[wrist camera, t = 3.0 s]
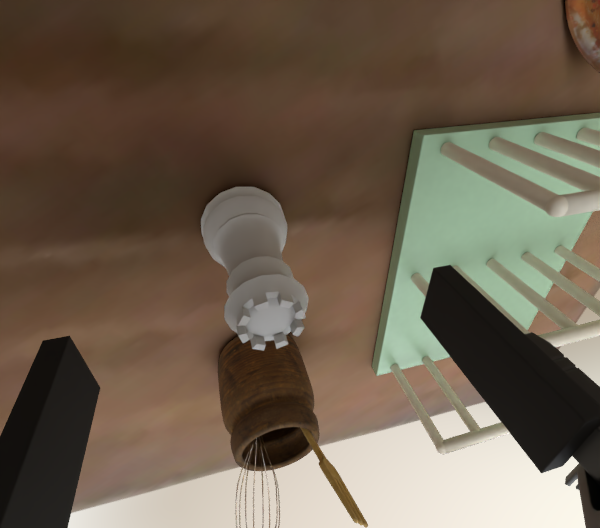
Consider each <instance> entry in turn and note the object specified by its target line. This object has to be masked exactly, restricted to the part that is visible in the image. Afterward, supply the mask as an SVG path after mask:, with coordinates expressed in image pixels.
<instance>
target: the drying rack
mask: <svg viewBox="0 0 600 528" xmlns="http://www.w3.org/2000/svg"><path fill="white" fill-rule="evenodd" d="M598 210H600V113H590V114H579V115H569V116H559V117H548V118H538V119H527V120H517V121H506V122H496V123H485V124H475V125H464V126H454V127H444V128H433V129H423V130H414V133H413V139H412V144H411V150H410V155H409V161H408V167H407V172H406V178H405V183H404V189H403V195H402V200H401V206H400V211H399V217H398V223H397V228H396V234H395V239H394V245H393V251H392V256H391V262H390V267H389V273H388V279H387V284H386V290H385V295H384V301H383V307H382V312H381V318H380V323H379V329H378V335H377V340H376V346H375V351H374V357H373V363H372V368H373V370H374V372H375V374H376V376H378V375H382V374H386V373H390V372H393V374H394V376H395V377H396V379H397V381H398V383H399V384H400V386H401V388H402V389H403V391H404V393H405V395H406V396H407V398H408V400H409V402H410V403H411V405H412V407H413V408H414V410H415V412H416V414H417V415H418V417H419V419H420V420H421V422H422V424H423V426H424V427H425V429H426V431H427V433H428V434H429V436H430V438H431V439H432V441H433V443H434V445H435V446H436V449H437V451H438V452H439V453H440V454H446V453H450V452H453V451H456V450H459V449H462V448H465V447H468V446H472V445H475V444H478V443H481V442H484V441H487V440H491V439H494V438H497V437H500V436H503V435H506V434H510V432H509V431H508V430H507V428H506V427H505V426H504V424H503V423H502V422H501V423H498V424H494V425H491V426H488V427H485V428H482V429H480V427H479V426H478V425H477V423H476V422H475V420H474V419H473V418H472V416H471V415H470V414H469V412H468V411H467V409H466V408H465V406H464V405H463V404H462V402H461V401H460V399H459V398H458V397H457V395H456V394H455V392H454V391H453V390H452V388H451V387H450V385H449V384H448V383H447V381H446V380H445V378H444V377H443V375H442V374H441V373H440V371H439V370H438V368H437V367H436V366H435V364H434V363H433V361H437V360H441V359H445V358H449V357H450V355H449V354H448V353H447V352H446V350H445V349H444V348H443V346H442V345H441V344H440V343H439V341H438V340H437V339H436V337H435V336H434V335H433V334H432V332H431V331H430V330H429V329H428V327H427V326H426V325H425V323H424V322H423V321H422V320H421V318H420V317H421V313H422V309H423V305H424V301H425V298H426V294H427V290H428V286H429V282H430V279H431V275H432V271H433V268H436V267H441V266H446V265H451V266H452V267H453V268H454V269H455V270H456V271H457V272H459V273H460V274H461V275H462V276H463V277H464V278H465V279H466V280H467V281H468V282H469V283H470V284H471V285H472V286H474V287H475V288H476V289H477V290H478V291H479V292H480V293H481V294H482V295H483V296H484V297H485V298H486V299H487V300H489V301H490V302H491V303H492V304H493V305H494V306H495V307H496V308H497V309H498V310H499V311H500V312H501V313H502V314H504V315H505V316H506V317H507V318H508V319H509V320H510V321H511V322H512V323H513V324H514V325H515V326H516V327H518V328H519V329H520V330H521V331H522V332H523V333H524V334H528V333H530V332H529V331H528V328H529V326H530V325H531V323H532V321H533V319H534V317H535V315H536V314H537V312H538V310H540V311H541V312H542V313H543V314H545V315H546V316H547V317H548V318H549V319H551V320H552V321H553V322H554V323H555V324H557V325H558V326H559V327H560V328H561V330H557V331H553V332H550V333H546V334H542V335H538V336H539V337H541V338H543V339H545V340H546V341H548V342H550V343H551V344H552V345H553V346H554V347H558V346H562V345H565V344H569V343H573V342H577V341H580V340H584V339H588V338H592V337H596V336H600V320H597V321H593V322H589V323H585V324H581V325H577V324H576V323H575V322H573V321H572V320H571V319H570V318H568V317H567V316H566V315H564V314H563V313H562V312H561V311H559V310H558V309H557V308H556V307H554V306H553V305H552V304H551V303H549V302H548V301H547V300H546V299H545V297H546V296H547V294H548V292H549V290H550V288H551V287H552V285H553V283H555V284H556V285H557V286H559V287H560V288H562V289H563V290H564V291H566V292H567V293H568V294H570V295H571V296H572V297H574V298H575V299H577V300H578V301H579V302H581V303H582V304H583V305H585V306H586V307H588V308H589V309H590V310H592V311H593V312H595V313H596V314H597V315H598V316H600V301H599V300H597V299H596V298H595V297H593V296H592V295H590V294H589V293H587V292H586V291H584V290H583V289H582V288H580V287H579V286H577V285H576V284H574V283H573V282H572V281H570V280H569V279H567V278H566V277H564V276H563V275H561V274H560V273H559V272H560V270H561V268H562V267H563V265H564V263H565V261H566V260H567V261H568V262H570V263H571V264H573V265H574V266H576V267H577V268H579V269H580V270H582V271H583V272H585V273H587V274H588V275H590V276H591V277H593V278H594V279H596V280H597V281H599V282H600V269H599V268H598V267H596V266H595V265H593V264H591V263H590V262H588V261H586V260H585V259H583V258H582V257H580V256H578V255H577V254H575V253H573V252H572V251H571V250H572V248H573V247H574V245H575V243H576V241H577V239H578V238H579V236H580V234H581V232H582V230H583V229H584V227H585V225H586V223H587V221H588V219H589V218H590V216H591V214H592V212H593V211H598ZM421 364H425V366H426V367H427V369H428V370H429V372H430V373H431V375H432V376H433V378H434V379H435V381H436V382H437V383H438V385H439V386H440V388H441V389H442V391H443V392H444V394H445V395H446V397H447V398H448V400H449V401H450V402H451V404H452V405H453V407H454V408H455V410H456V411H457V413H458V414H459V415H460V417H461V419H462V420H463V421H464V423H465V424H466V426H467V427H468V429H469V430H470V432H468V433H465V434H462V435H459V436H455V437H452V438H449V439H446V440H443V438H442V437H441V435H440V434H439V432H438V430H437V429H436V427H435V425H434V424H433V422H432V420H431V419H430V417H429V415H428V414H427V412H426V410H425V409H424V407H423V406H422V404H421V402H420V401H419V399H418V397H417V396H416V394H415V392H414V391H413V389H412V387H411V386H410V384H409V382H408V381H407V379H406V377H405V376H404V374H403V373H402V371H401V370H402V369H405V368H409V367H413V366H417V365H421Z"/></svg>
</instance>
